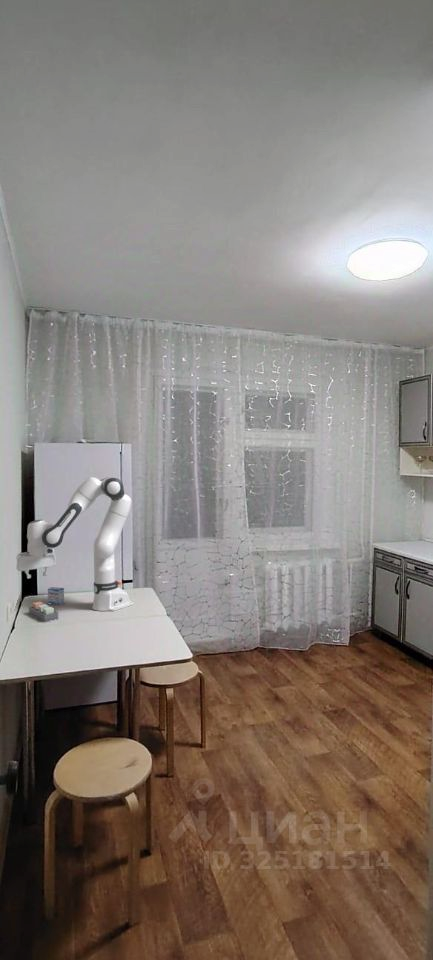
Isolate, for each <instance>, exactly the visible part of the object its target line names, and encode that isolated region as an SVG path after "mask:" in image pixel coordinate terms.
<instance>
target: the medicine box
mask: <svg viewBox="0 0 433 960" xmlns="http://www.w3.org/2000/svg"><path fill="white" fill-rule="evenodd" d="M48 603H51V604H50V605H56V604H60V605H62V603H63V604H64V603H65V588H64V587H55V586H54V587H53V586H52V587H48V588H47V604H48Z"/></svg>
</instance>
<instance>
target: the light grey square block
mask: <svg viewBox="0 0 433 960" xmlns="http://www.w3.org/2000/svg"><path fill="white" fill-rule="evenodd" d="M47 607H50V606H49V604H45V603H43V605H39V606H38V611H39V612H42V611H43V608H47Z"/></svg>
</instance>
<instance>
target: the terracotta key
mask: <svg viewBox="0 0 433 960" xmlns="http://www.w3.org/2000/svg"><path fill="white" fill-rule="evenodd" d="M39 605H44V602H42V601H37V602H33V603H32V606H33V609H38V606H39Z"/></svg>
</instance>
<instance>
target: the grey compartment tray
mask: <svg viewBox="0 0 433 960" xmlns="http://www.w3.org/2000/svg"><path fill="white" fill-rule="evenodd" d="M29 613H30V614H29ZM28 614H29V615H31V616H33V617H34V618H36V619H38V618H39V619H38V620H40V621H42V622H44V623H47V622H46V621H48V622H51V621H50V620H52V621H56V620H59V612H58V611H56V610H55V609H54V613H51V614H47V615H45V614H43V611H42V612H39V611H38V609H33V605H32V606H28ZM55 619H56V620H55Z"/></svg>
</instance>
